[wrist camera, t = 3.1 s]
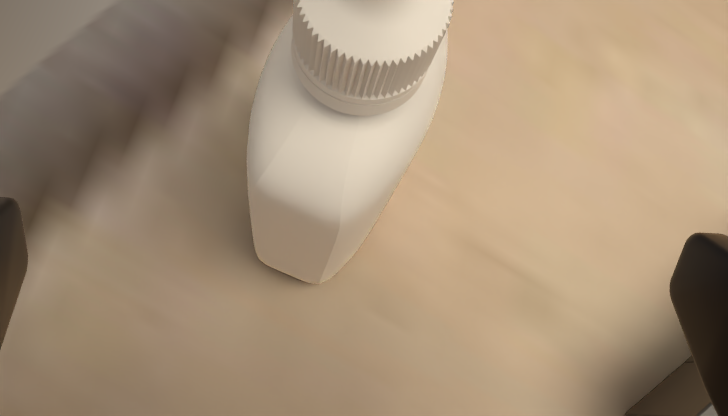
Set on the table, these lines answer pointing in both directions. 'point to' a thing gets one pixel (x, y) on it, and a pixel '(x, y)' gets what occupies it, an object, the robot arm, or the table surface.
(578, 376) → the table surface
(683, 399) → the holder
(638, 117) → the table surface
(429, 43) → the eye dropper bottle
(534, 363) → the table surface
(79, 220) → the table surface
